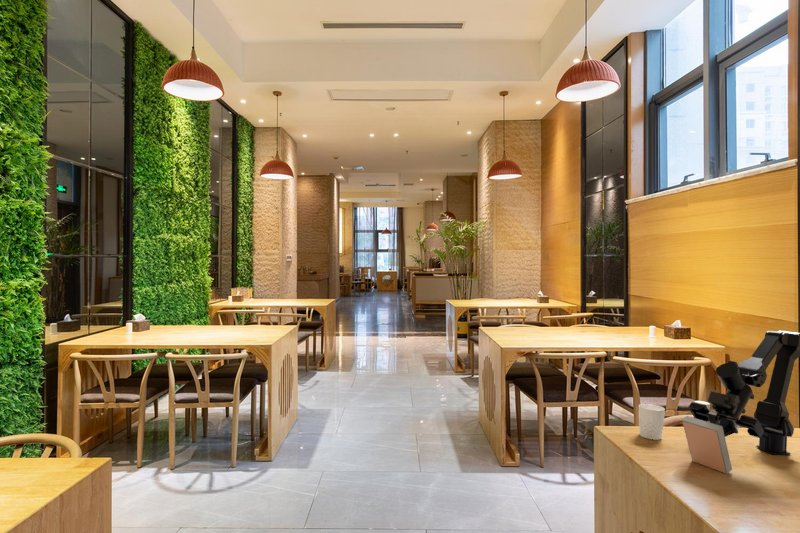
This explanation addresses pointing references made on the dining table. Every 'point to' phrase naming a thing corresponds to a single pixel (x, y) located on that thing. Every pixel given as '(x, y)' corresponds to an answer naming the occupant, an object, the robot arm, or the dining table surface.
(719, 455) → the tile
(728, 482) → the dining table surface
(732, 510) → the dining table surface
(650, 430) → the white cup
